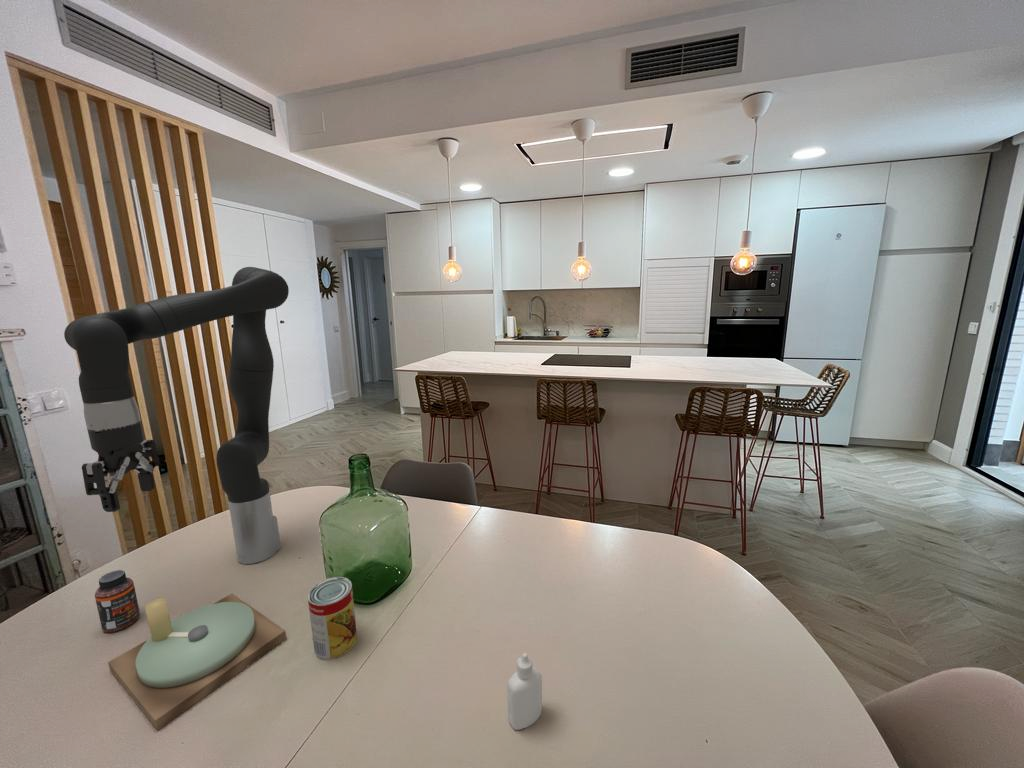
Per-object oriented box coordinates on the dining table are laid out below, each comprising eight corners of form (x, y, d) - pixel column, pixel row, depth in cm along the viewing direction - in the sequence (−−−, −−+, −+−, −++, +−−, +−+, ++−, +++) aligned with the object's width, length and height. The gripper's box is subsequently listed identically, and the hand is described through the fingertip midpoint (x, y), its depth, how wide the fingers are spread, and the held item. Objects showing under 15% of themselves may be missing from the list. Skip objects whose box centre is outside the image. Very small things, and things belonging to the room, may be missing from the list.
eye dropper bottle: (507, 704, 69) (506, 643, 67) (540, 703, 69) (541, 642, 67) (508, 731, 65) (507, 667, 62) (543, 729, 65) (544, 666, 63)
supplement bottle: (117, 636, 84) (105, 587, 82) (94, 631, 85) (82, 583, 83) (148, 614, 90) (138, 568, 88) (126, 610, 91) (116, 565, 89)
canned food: (365, 633, 84) (360, 581, 82) (337, 664, 77) (331, 609, 75) (334, 623, 87) (328, 573, 84) (304, 653, 80) (297, 599, 77)
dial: (273, 610, 88) (268, 572, 86) (212, 688, 70) (203, 643, 68) (190, 609, 88) (183, 572, 86) (108, 687, 70) (97, 642, 69)
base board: (233, 600, 94) (231, 592, 93) (286, 638, 83) (285, 629, 83) (110, 671, 76) (107, 660, 76) (157, 730, 65) (154, 719, 65)
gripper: (124, 412, 86) (139, 485, 89) (56, 435, 72) (77, 519, 75) (162, 411, 86) (176, 483, 90) (102, 433, 72) (121, 517, 76)
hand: (131, 500), depth 82 cm, fingers open, 8 cm apart
